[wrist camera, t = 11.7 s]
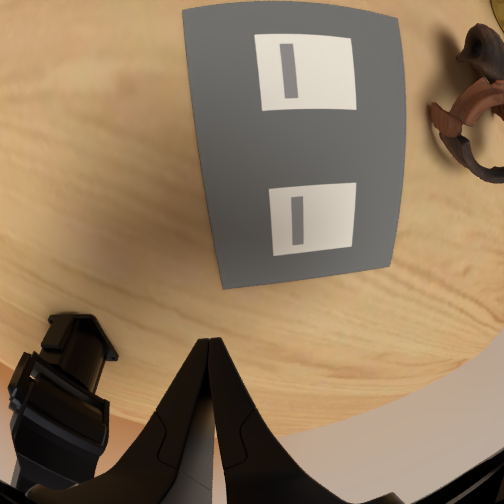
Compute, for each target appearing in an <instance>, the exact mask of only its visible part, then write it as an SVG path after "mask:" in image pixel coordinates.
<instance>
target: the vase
mask: <svg viewBox="0 0 504 504" xmlns="http://www.w3.org/2000/svg"><path fill="white" fill-rule="evenodd" d="M491 3H492V8H493V11H494V14H495V17H496V19H497V21H498V23H499V25H500V27H501V28H502V30H503V31H504V0H491Z"/></svg>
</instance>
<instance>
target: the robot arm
mask: <svg viewBox="0 0 504 504" xmlns="http://www.w3.org/2000/svg"><path fill="white" fill-rule="evenodd" d="M48 322H49V323H50V325H51V326H50V328H49V330H48V331H47V333H46V335H45V337H44V339H43V341H42V343H41V347H42V350H41V352H40V354H38V353H36V352H35V351H34V352H33V353H32V354H30V353H26V352H24V353H23V355H22V357H21V359H20V361H19V363H18V365H17V367H16V369H15V371H14V374H13V376H12V378H11V381H10V383H9V385H8V391H9V395H10V398H9V400H10V404H9V409H11V410H12V411H13V412H14V413H13V416H12V419H11V421H10V430H11V435H12V440H13V444H14V448H15V451H16V455H17V461H16V465H15V469H14V473H13V477H12V482H11V485H9V484H7V483H6V482H4V481H2V480H0V504H212V480H213V454H214V433H215V425H216V432H217V438H218V444H219V449H220V455H221V460H222V466H223V470H224V476H225V483H226V495H227V504H352V503H348V502H346V501H344V500H342V499H340V498H339V497H338V496H336V495H335V494H333V493H332V492H330V491H329V490H328V489H326V488H325V487H323V486H322V485H321V484H319V483H318V482H316V481H315V480H314V479H313V478H311V477H310V476H309V475H308V474H307V473H305V471H304V470H303V469H302V468H300V466H299V465H298V464H297V463H296V462H295V461H294V460H293V459H292V457H291V456H290V455H289V454H288V452H287V451H286V450H285V449H284V448H283V446H282V445H281V444H280V443H279V442H278V440H277V439H276V438H275V436H274V435H273V434H272V432H271V431H270V430H269V428H268V427H267V425H266V423H265V422H264V420H263V418H262V417H261V415H260V413H259V411H258V409H257V408H256V406H255V404H254V402H253V400H252V398H251V396H250V395H249V393H248V391H247V389H246V387H245V385H244V383H243V381H242V379H241V377H240V375H239V373H238V371H237V369H236V367H235V365H234V363H233V361H232V359H231V357H230V355H229V353H228V351H227V349H226V346H225V344H224V342H223V340H222V338H221V337H216V338H210V339H209V338H203V339H198V340H197V342H196V343H195V345H194V347H193V348H192V350H191V352H190V353H189V355H188V357H187V358H186V360H185V362H184V363H183V365H182V367H181V368H180V370H179V371H178V373H177V375H176V376H175V378H174V380H173V381H172V383H171V385H170V386H169V388H168V390H167V391H166V393H165V395H164V396H163V398H162V400H161V401H160V403H159V405H158V406H157V408H156V411H154V413H153V415H152V416H151V418H150V420H149V421H148V423H147V424H146V426H145V427H144V429H143V430H142V432H141V433H140V434H139V436H138V437H137V438H136V440H135V441H134V442H133V443H132V445H131V446H130V447H129V448H128V450H127V451H126V452H125V453H124V455H123V456H122V457H121V458H120V459H119V461H118V462H117V463H116V464H115V465H114V466H113V467H112V468H111V469H110V470H108V471H107V472H105V473H103V474H101V475H99V476H97V477H95V478H94V475H95V470H96V465H97V462H98V459H99V457H100V456H101V455H102V454H103V452H104V451H105V448H106V446H107V443H108V438H109V407H110V402H109V401H107V400H106V399H102V398H101V397H99V396H97V395H95V393H96V389H97V386H98V383H99V380H100V376H101V373H102V370H103V367H104V364H105V361H117V360H118V355H117V353H116V352H115V350H114V349H113V347H112V346H111V344H110V342H109V341H108V339H107V338H106V336H105V334H104V333H103V331H102V329H101V328H100V326H99V324H98V323H97V321H96V319H95V318H94V317H93V316H91V315H72V316H49V318H48ZM30 375H31V376H32V377H34V378H35V379H32V378H31V377H30ZM76 484H79V485H77V486H75V485H76ZM73 486H74V487H73ZM360 504H404V503H403V501H402V500H400V498H399V497H398V496H396V494H395V493H393V492H391V493H388V494H386V495H383V496H381V497H378V498H376V499H373V500H370V501H367V502H364V503H360ZM411 504H504V448H502V449H500V450H499V451H498V452H496V453H495V454H493V455H492V456H490V457H488V458H487V459H485V460H484V461H482V462H480V463H479V464H478V465H476V466H474V467H473V468H471V469H469V470H468V471H466V472H465V473H463V474H462V475H460V476H458V477H457V478H455V479H454V480H452V481H451V482H449V483H448V484H446V485H444V486H443V487H441V488H439V489H437V490H436V491H434V492H432V493H430V494H428V495H427V496H425V497H423V498H421V499H419V500H417V501H415V502H413V503H411Z"/></svg>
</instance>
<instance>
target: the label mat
mask: <svg viewBox="0 0 504 504" xmlns="http://www.w3.org/2000/svg"><path fill="white" fill-rule="evenodd" d="M182 12H183V24H184V35H185V45H186V55H187V64H188V73H189V81H190V90H191V98H192V106H193V113H194V121H195V128H196V135H197V142H198V149H199V156H200V162H201V169H202V175H203V181H204V187H205V193H206V199H207V205H208V211H209V217H210V223H211V228H212V234H213V239H214V245H215V250H216V256H217V261H218V266H219V271H220V276H221V281H222V286H223V289H232V288H241V287H249V286H258V285H266V284H274V283H282V282H290V281H297V280H305V279H312V278H319V277H326V276H333V275H340V274H347V273H353V272H360V271H366V270H372V269H379V268H385V267H390V264H391V259H392V254H393V249H394V243H395V237H396V232H397V225H398V219H399V212H400V204H401V196H402V187H403V176H404V163H405V145H406V92H405V74H404V62H403V53H402V44H401V37H400V30H399V24H398V18H394V17H390V16H387V15H383V14H379V13H374V12H370V11H365V10H360V9H355V8H349V7H343V6H337V5H329V4H320V3H309V2H293V1H253V2H237V3H226V4H217V5H209V6H202V7H196V8H190V9H185V10H182Z"/></svg>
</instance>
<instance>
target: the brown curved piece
mask: <svg viewBox="0 0 504 504" xmlns="http://www.w3.org/2000/svg"><path fill="white" fill-rule="evenodd" d="M456 60H457V61H458V62H463V63H467V64H470V65H471V66H473V67H475V68H476V69H478V70H479V71H480V72H482V74H483V75H484V76H485V77H486V79H487V80H488V81H489V83H490V84H489V83H488V82H487V81H486V79H485V78H484V77H482V78H480V79H479V80H478V81H476V82H475V83H474V84H473V85H471V86H469V87H468V88H467V89H466V91H465V92H464V93H463V94H462V95H461V96H460V97H459V98H458V99H457V100H456V102H455V103H454V104H453V106H452V108H451V110H450V113H449V112H447V111H445V110H443V109H442V108H441V107H440V106H439V105H438V104H437V103H436V102H434V103H431V108H430V111H431V120H432V122H433V123H434V126H435V128H437V129H438V130H439V131H440V133H439V136H440V138H441V140H442V141H443V143H444V144H445V146H446V147H447V149H448V150H449V152H450V153H451V154H452V155H453V157H454V158H455V159H456V160H457V161H458V162H459V163H460V164H462V165H463V166H464V167H466V168H468V169H469V170H470V171H471V172H472V173H473V174H474V175H476V176H477V177H479V178H480V179H482V180H484V181H485V182H490V183H500V184H501V183H504V167H496V166H495V167H493V168H492V169H488V168H485V167H483V166H481V165H479V164H478V163H477V162H476V161H475V159H474V157H473V155H472V152H471V148H470V141H469V140H468V139H467V138H466V137H464V136H462V135H461V132H462V125H463V124H464V125H467V126H470V127H473V126H474V124H475V122H476V121H477V119H478V118H479V117H480V115H481V114H482V113H483V112H484V111H485V110H487V109H489V108H490V107H493V112H494V113H495V114H497V115H498V116H500V117H501V118H502V120H503V121H504V43H503V41H502V39H501V38H500V36H499V35H498V34H497V33H496V32H495V31H494V30H493V29H491V28H489V27H488V26H486V25H484V24H479V23H477V24H476V25H475V26H474V27H472V28H471V29H470V30H469V31H468V33H467V36H466V39H465V45H464V49H463V50H462V52H461V53H460V54H458V56H457V57H456Z"/></svg>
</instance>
